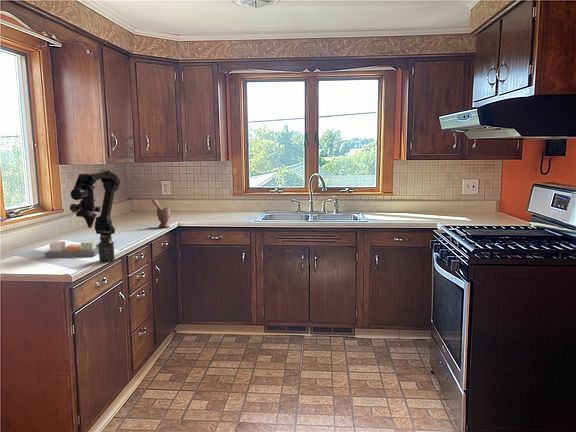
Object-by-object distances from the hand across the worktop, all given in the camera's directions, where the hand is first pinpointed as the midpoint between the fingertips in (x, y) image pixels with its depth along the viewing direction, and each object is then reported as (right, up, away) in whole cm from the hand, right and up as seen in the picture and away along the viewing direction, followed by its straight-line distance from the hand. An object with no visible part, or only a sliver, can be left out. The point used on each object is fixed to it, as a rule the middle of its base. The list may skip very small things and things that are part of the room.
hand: (89, 227), depth 230 cm
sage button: (+3, -11, -7) cm, 13 cm away
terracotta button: (-5, -13, -8) cm, 16 cm away
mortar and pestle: (+18, -2, +69) cm, 71 cm away
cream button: (-12, -11, -9) cm, 18 cm away
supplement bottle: (+17, -15, -20) cm, 30 cm away
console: (-5, -13, -7) cm, 16 cm away
